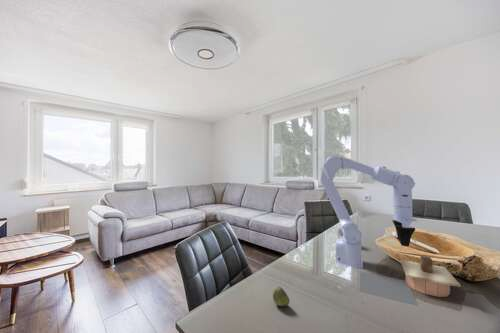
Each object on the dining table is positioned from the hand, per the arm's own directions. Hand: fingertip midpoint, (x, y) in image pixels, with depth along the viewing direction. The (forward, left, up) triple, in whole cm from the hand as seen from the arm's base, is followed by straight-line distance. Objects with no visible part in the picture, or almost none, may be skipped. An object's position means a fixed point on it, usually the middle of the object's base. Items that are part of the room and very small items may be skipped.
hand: (403, 242), depth 76 cm
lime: (-33, -41, -11) cm, 54 cm away
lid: (+4, -11, -6) cm, 13 cm away
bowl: (+4, -11, -10) cm, 16 cm away
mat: (-7, -17, -10) cm, 21 cm away
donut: (-21, +19, -11) cm, 31 cm away
